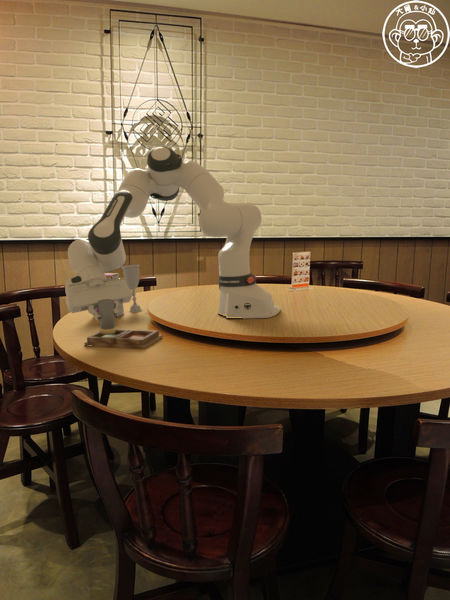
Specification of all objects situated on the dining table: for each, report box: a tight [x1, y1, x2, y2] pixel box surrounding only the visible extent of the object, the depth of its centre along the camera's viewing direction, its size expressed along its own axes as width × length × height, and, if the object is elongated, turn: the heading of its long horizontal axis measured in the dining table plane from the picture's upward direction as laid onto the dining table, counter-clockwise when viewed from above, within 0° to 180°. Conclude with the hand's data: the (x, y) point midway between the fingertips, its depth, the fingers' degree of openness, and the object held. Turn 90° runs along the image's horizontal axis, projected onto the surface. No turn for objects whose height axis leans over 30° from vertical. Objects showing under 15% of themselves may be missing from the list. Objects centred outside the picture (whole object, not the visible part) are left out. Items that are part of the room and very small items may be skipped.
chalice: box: [121, 264, 143, 313], centre depth 182 cm, size 7×7×18 cm
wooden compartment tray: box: [84, 328, 163, 350], centre depth 142 cm, size 21×11×2 cm, turn 69°
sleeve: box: [98, 299, 117, 335], centre depth 143 cm, size 5×5×10 cm
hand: (107, 316), depth 142 cm, fingers closed on sleeve, 4 cm apart
